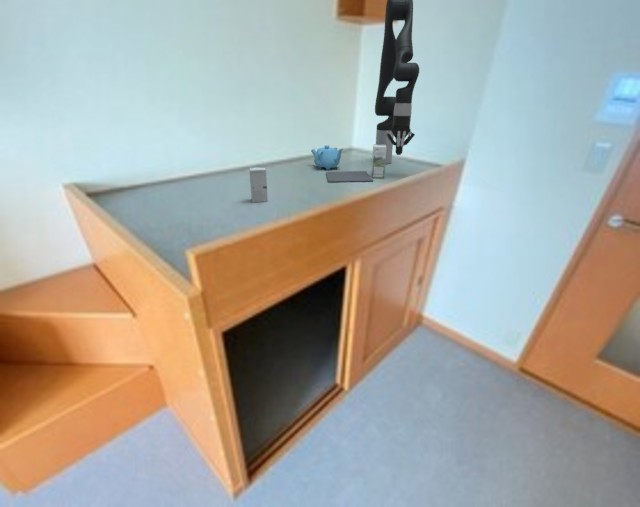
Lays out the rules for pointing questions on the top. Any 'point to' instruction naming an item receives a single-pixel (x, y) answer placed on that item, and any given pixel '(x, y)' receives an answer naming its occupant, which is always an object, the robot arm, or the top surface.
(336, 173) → the mat
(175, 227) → the top surface
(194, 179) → the top surface
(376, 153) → the syrup box
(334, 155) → the teapot
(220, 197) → the top surface
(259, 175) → the skincare box
